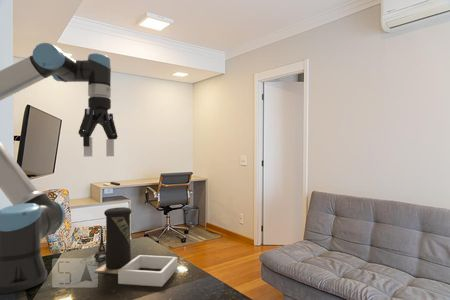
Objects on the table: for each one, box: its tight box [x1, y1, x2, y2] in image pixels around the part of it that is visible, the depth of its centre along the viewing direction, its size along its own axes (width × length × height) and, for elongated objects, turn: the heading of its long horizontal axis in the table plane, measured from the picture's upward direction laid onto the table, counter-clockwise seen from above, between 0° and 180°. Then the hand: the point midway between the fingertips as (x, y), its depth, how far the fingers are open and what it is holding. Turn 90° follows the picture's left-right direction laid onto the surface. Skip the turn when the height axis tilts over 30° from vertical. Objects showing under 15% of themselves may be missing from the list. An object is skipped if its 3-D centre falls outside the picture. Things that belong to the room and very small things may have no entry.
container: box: [103, 206, 132, 269], centre depth 103 cm, size 9×9×20 cm
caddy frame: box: [117, 254, 178, 287], centre depth 95 cm, size 14×14×4 cm
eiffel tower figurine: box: [79, 226, 106, 266], centre depth 113 cm, size 15×10×13 cm
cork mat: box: [94, 259, 133, 275], centre depth 103 cm, size 11×11×1 cm
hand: (99, 156), depth 107 cm, fingers open, 13 cm apart
